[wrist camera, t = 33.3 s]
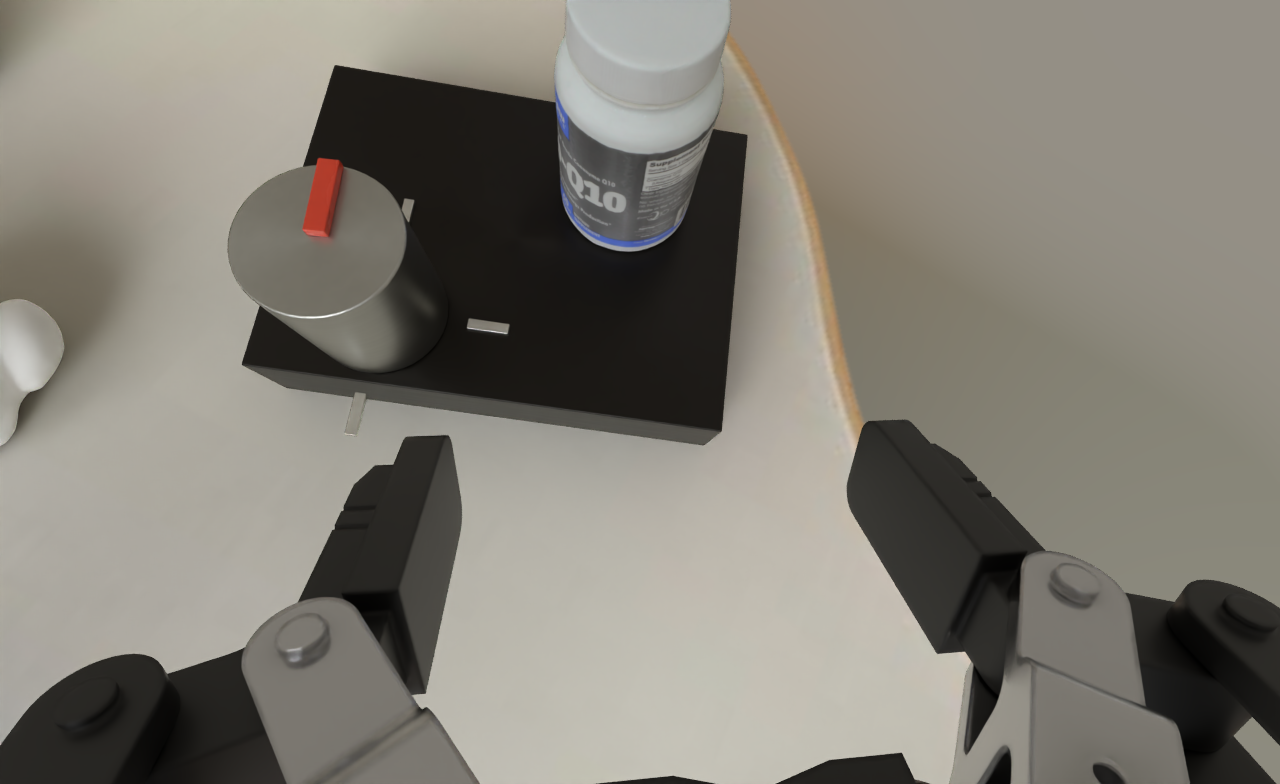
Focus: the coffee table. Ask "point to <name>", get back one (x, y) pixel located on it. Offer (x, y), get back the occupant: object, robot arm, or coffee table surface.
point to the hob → (527, 271)
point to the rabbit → (24, 356)
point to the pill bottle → (636, 113)
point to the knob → (339, 266)
